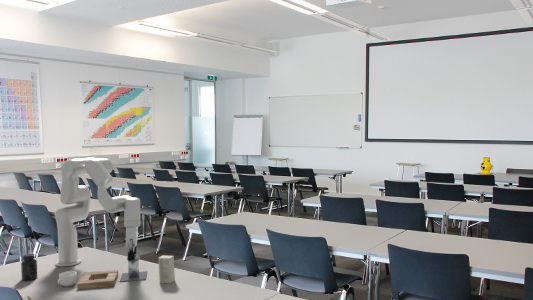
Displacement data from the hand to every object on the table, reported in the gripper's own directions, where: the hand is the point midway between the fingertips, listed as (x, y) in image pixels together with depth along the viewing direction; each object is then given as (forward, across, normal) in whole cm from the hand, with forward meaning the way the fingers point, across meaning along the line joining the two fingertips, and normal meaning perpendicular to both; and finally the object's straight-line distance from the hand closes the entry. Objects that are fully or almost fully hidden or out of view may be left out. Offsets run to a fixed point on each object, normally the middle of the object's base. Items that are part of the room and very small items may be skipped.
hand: (132, 256), depth 211 cm
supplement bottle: (+12, -9, -49) cm, 51 cm away
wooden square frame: (+10, +4, -15) cm, 19 cm away
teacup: (+11, +5, -29) cm, 31 cm away
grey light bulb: (+9, +1, +1) cm, 9 cm away
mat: (+10, +1, +1) cm, 10 cm away
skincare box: (+9, +12, +17) cm, 23 cm away
